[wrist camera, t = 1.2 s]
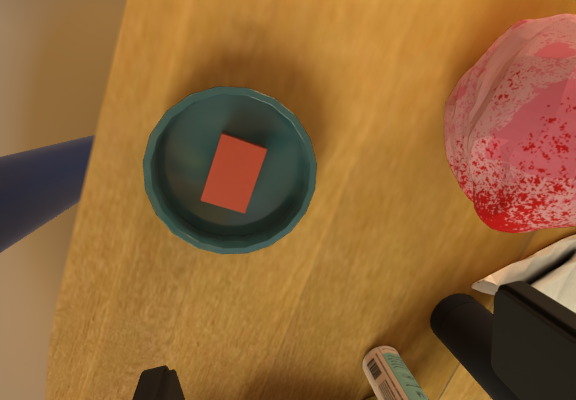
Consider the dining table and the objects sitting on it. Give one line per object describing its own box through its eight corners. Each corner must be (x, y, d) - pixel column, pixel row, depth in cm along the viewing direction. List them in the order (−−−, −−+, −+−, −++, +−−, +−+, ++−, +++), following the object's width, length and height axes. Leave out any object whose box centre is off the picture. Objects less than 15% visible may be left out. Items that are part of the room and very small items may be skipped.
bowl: (136, 215, 30) (124, 229, 27) (177, 62, 27) (170, 57, 24) (278, 254, 34) (283, 270, 31) (329, 121, 31) (340, 124, 28)
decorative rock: (520, 261, 32) (781, 238, 19) (408, 230, 28) (654, 171, 14) (503, 102, 39) (692, 3, 25) (410, 54, 34) (582, -99, 21)
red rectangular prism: (243, 205, 31) (245, 213, 29) (202, 193, 30) (200, 200, 28) (264, 146, 30) (267, 149, 28) (222, 131, 29) (221, 133, 27)
